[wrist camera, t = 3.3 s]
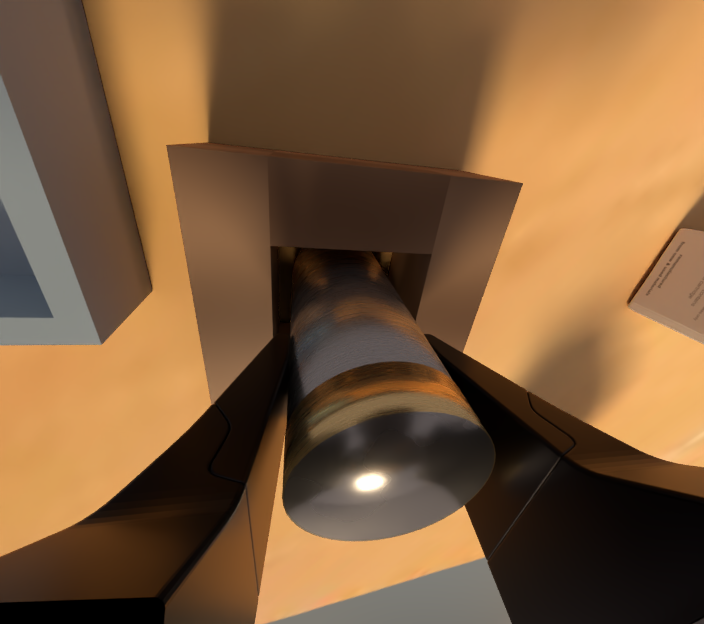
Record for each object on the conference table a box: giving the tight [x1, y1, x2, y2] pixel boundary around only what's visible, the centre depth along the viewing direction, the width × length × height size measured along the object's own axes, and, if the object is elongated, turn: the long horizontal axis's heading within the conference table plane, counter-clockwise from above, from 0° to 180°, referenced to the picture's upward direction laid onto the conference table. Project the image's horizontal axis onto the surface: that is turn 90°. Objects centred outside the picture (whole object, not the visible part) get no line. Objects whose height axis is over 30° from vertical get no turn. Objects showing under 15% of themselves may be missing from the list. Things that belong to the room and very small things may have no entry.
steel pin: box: [282, 248, 496, 542], centre depth 10 cm, size 4×4×10 cm
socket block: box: [166, 143, 523, 404], centre depth 12 cm, size 10×10×4 cm
